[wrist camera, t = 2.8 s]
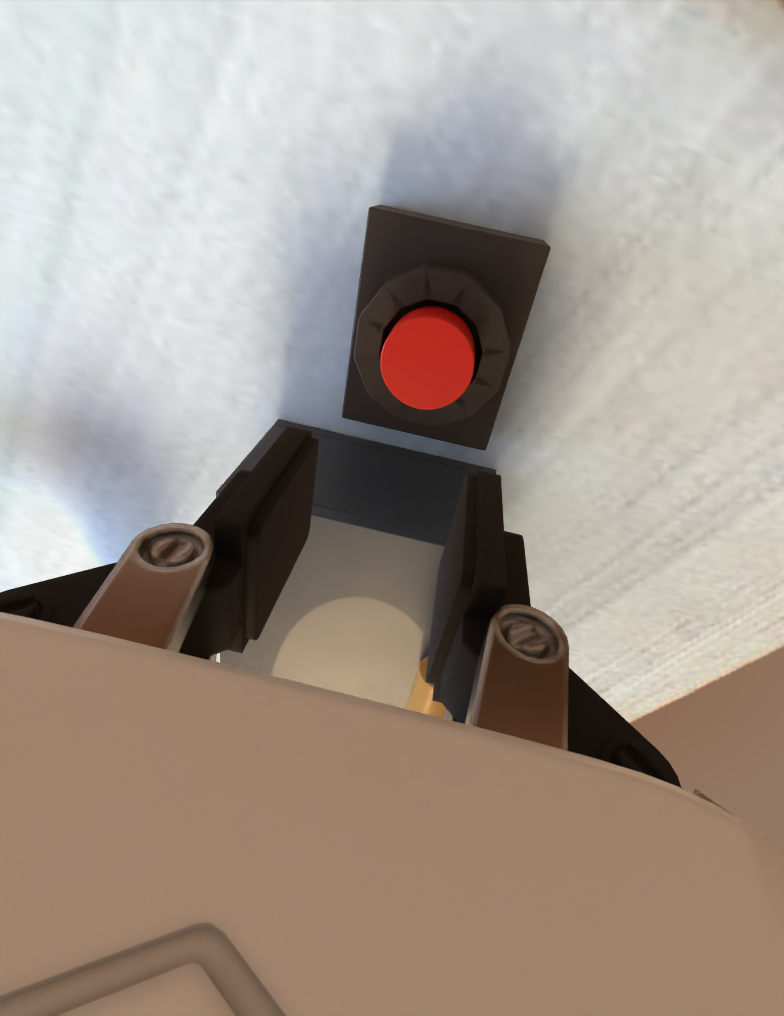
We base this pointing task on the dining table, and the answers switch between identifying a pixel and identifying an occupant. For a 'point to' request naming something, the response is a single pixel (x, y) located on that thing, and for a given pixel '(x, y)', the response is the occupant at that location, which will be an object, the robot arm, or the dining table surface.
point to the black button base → (448, 284)
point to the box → (379, 479)
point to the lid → (355, 613)
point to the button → (428, 358)
